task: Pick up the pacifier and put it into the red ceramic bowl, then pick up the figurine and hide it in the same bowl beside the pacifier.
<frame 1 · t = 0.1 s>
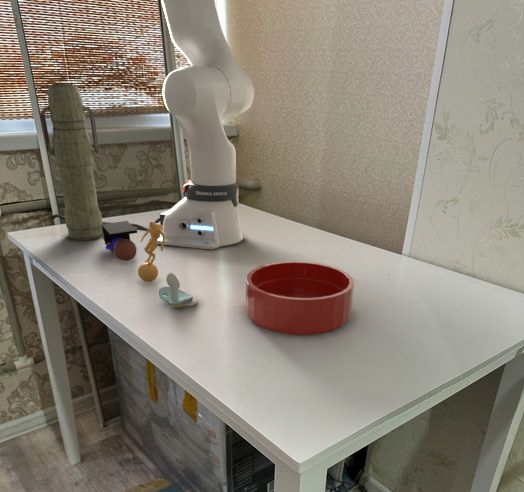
pacifier: (180, 304, 94), on the table
figurine: (153, 281, 104), on the table
figurine character: (121, 254, 119), on the table
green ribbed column: (86, 235, 132), on the table
bowl: (298, 312, 91), on the table
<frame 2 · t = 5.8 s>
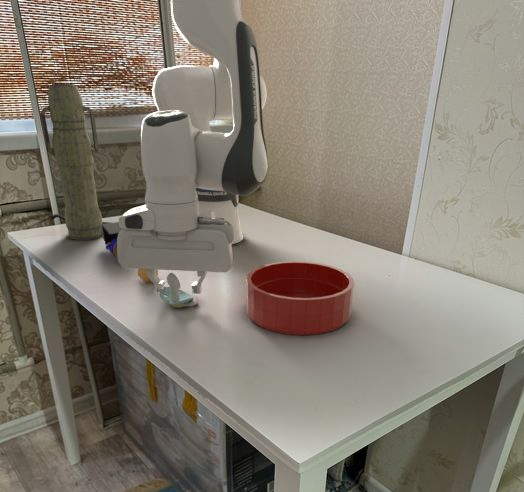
hand: (178, 291, 93), 2 cm above the table, tool pointing down, fingers closed on pacifier, 5 cm apart
pacifier: (180, 304, 94), on the table, touching gripper
everything else where it was.
when the fingers open (3 cm above the table, at t = 13.7 s): pacifier stays where it is, resting on bowl.
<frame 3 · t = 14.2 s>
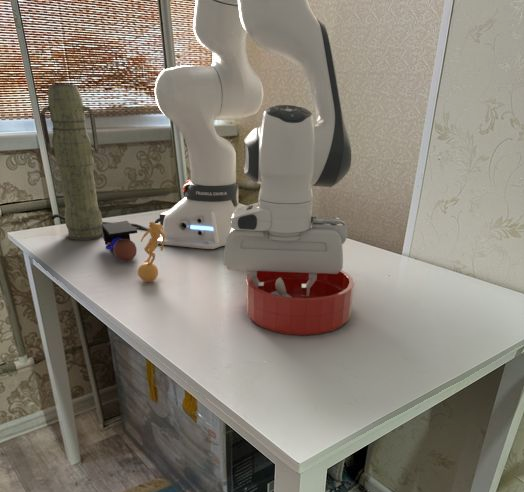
hand: (282, 294, 90), 3 cm above the table, tool pointing down, fingers open, 7 cm apart
pacifier: (286, 311, 91), resting on bowl
everything else where it was.
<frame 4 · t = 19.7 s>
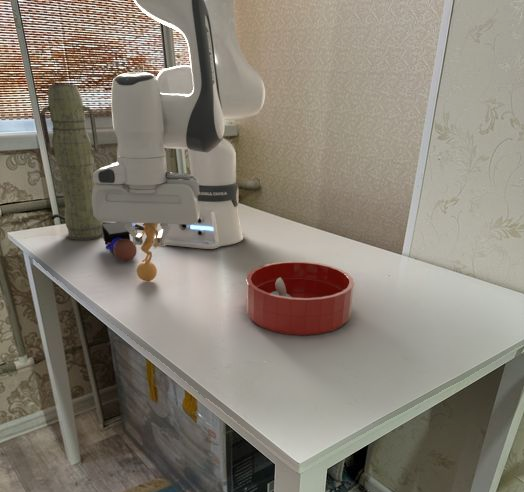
hand: (149, 244, 101), 8 cm above the table, tool pointing down, fingers closed on figurine, 3 cm apart
figurine: (153, 280, 104), on the table, touching gripper
everything else where it was.
when the fingers open (9 cm above the table, at t = 27.2 s): figurine stays where it is, resting on bowl.
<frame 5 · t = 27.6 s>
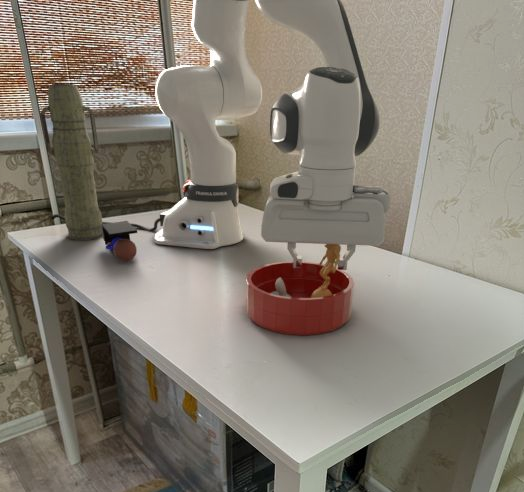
hand: (319, 267, 87), 9 cm above the table, tool pointing down, fingers open, 6 cm apart
figurine: (328, 310, 90), point 1 cm above the table, touching bowl, gripper
everything else where it was.
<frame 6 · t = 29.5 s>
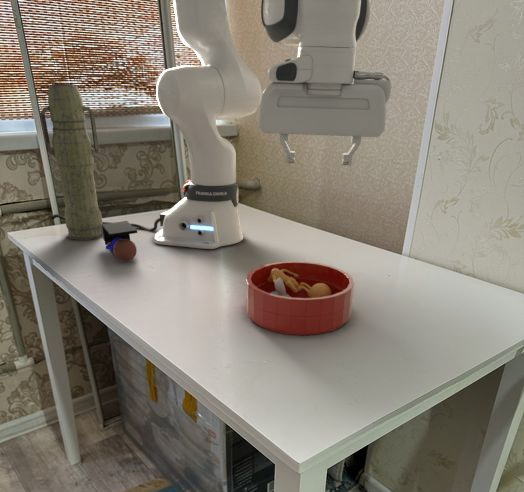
hand: (318, 164, 85), 25 cm above the table, tool pointing down, fingers open, 8 cm apart
pacifier: (286, 311, 91), resting on bowl, touching figurine
figurine: (332, 290, 91), point 4 cm above the table, touching bowl, pacifier
everything else where it was.
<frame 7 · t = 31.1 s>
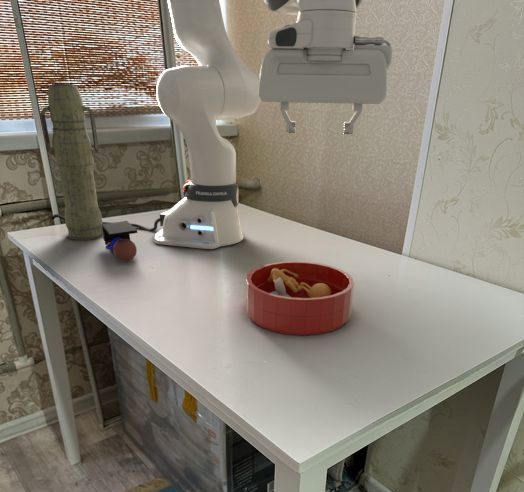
hand: (319, 133, 84), 29 cm above the table, tool pointing down, fingers open, 8 cm apart
nothing on the table moved.
at the end: pacifier inside the target area in the bowl (2.2 cm from its centre), point 0.4 cm above the bowl's base; figurine inside the target area in the bowl (6.5 cm from its centre), point 3.7 cm above the bowl's base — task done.
